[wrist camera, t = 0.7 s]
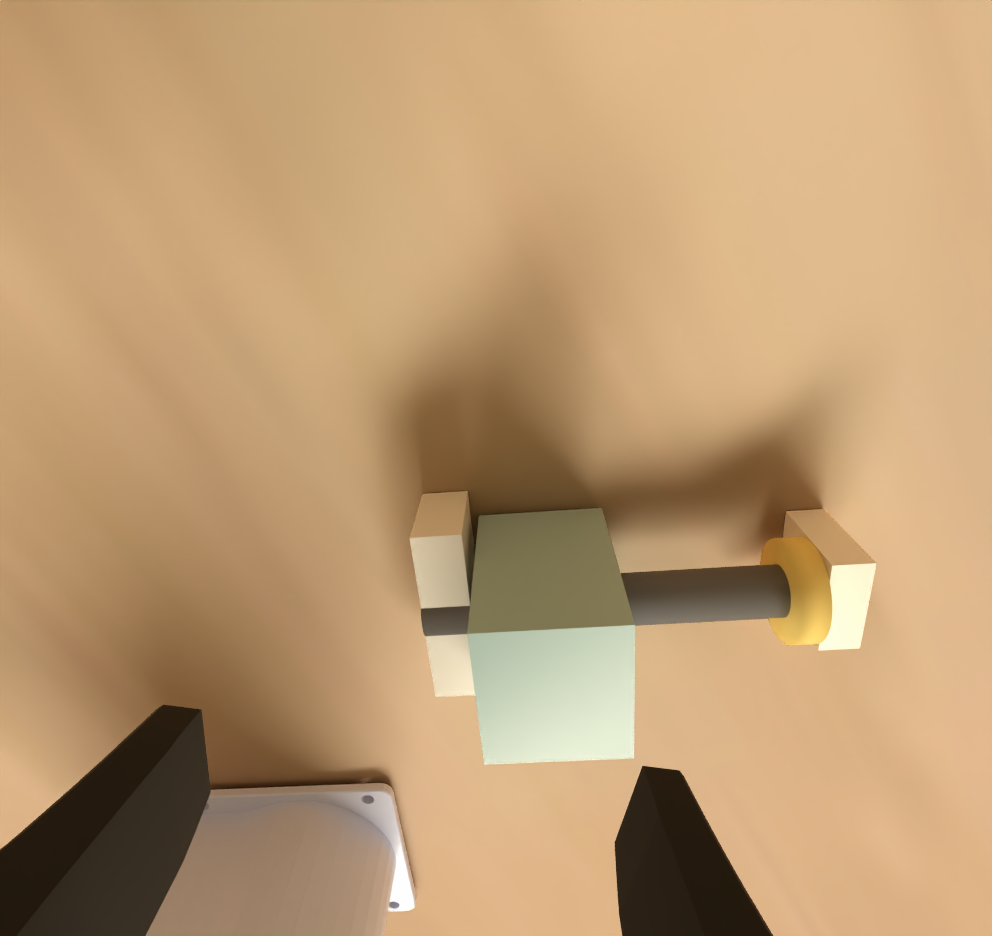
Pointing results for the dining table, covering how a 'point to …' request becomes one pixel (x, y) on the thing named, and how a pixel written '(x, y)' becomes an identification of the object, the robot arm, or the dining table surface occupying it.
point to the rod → (716, 595)
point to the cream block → (838, 574)
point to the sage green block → (551, 639)
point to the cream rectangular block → (445, 582)
